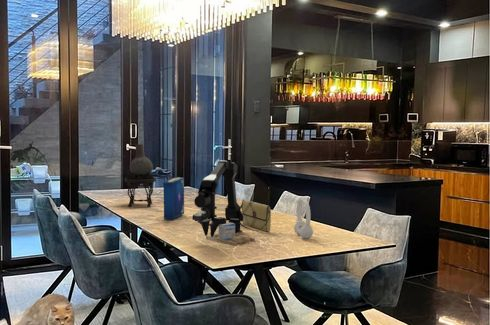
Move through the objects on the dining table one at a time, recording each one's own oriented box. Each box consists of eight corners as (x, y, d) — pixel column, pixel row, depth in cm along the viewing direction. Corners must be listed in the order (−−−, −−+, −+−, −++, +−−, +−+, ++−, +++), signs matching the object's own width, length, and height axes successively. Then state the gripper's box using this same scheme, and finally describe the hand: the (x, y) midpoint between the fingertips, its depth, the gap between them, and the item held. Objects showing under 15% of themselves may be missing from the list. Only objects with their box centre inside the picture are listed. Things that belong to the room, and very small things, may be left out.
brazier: (149, 208, 338) (149, 145, 335) (119, 206, 341) (119, 144, 338) (160, 203, 360) (160, 144, 357) (132, 202, 364) (131, 143, 360)
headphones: (304, 232, 262) (305, 197, 261) (314, 240, 244) (315, 202, 243) (292, 233, 261) (293, 197, 260) (301, 241, 243) (302, 202, 242)
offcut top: (242, 238, 240) (242, 234, 240) (249, 240, 237) (249, 236, 237) (232, 240, 236) (232, 236, 235) (239, 242, 232) (239, 238, 232)
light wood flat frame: (225, 235, 253) (225, 231, 253) (254, 242, 239) (255, 238, 239) (206, 239, 243) (206, 236, 243) (235, 247, 229) (235, 243, 229)
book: (173, 220, 292) (173, 180, 290) (162, 220, 294) (162, 180, 292) (184, 214, 313) (184, 177, 312) (174, 214, 315) (174, 176, 313)
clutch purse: (234, 224, 283) (234, 199, 282) (244, 223, 287) (244, 198, 286) (262, 234, 258) (263, 207, 257) (273, 232, 262) (273, 206, 261)
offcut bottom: (241, 242, 241) (241, 238, 240) (249, 244, 237) (249, 240, 237) (232, 244, 235) (232, 240, 235) (239, 246, 232) (239, 242, 232)
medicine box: (224, 242, 238) (224, 225, 238) (218, 240, 241) (218, 224, 241) (235, 239, 244) (235, 223, 243) (229, 238, 247) (229, 222, 246)
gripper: (184, 204, 231) (183, 235, 232) (210, 208, 219) (209, 242, 220) (201, 201, 239) (200, 232, 240) (227, 206, 227) (226, 238, 228)
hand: (209, 236), depth 232 cm, fingers open, 4 cm apart
